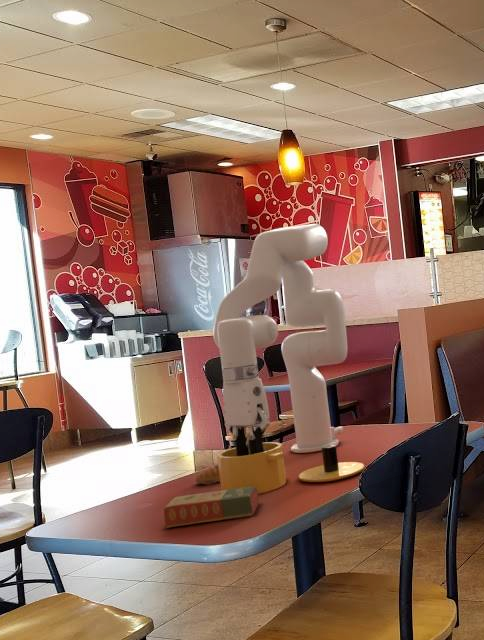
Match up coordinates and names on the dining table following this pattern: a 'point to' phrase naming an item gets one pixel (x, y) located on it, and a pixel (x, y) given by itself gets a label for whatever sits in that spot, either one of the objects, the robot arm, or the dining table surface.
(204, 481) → the pastry
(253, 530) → the dining table surface
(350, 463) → the lid
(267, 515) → the dining table surface
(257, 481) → the pot
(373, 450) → the dining table surface
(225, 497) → the carton
